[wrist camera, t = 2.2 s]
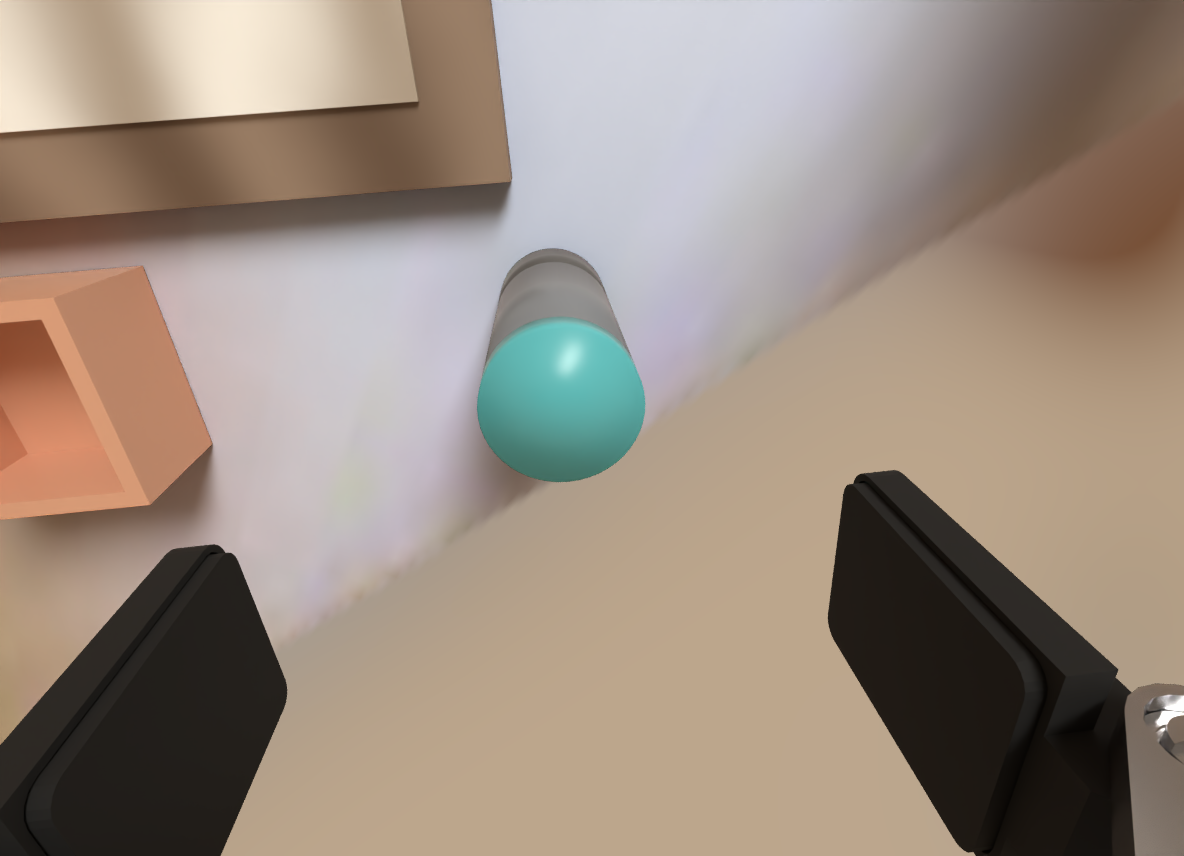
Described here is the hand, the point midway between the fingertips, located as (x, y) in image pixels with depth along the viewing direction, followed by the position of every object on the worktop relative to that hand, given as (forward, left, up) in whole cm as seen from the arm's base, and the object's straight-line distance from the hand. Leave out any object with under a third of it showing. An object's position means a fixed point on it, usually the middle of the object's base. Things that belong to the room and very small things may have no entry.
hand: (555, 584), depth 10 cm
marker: (0, 0, -16) cm, 16 cm away
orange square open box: (+18, +1, -16) cm, 24 cm away
